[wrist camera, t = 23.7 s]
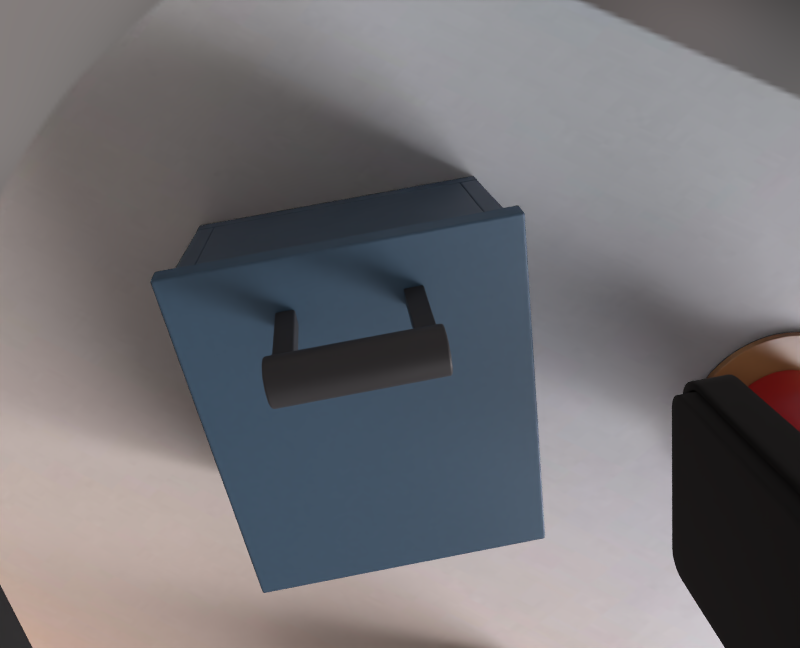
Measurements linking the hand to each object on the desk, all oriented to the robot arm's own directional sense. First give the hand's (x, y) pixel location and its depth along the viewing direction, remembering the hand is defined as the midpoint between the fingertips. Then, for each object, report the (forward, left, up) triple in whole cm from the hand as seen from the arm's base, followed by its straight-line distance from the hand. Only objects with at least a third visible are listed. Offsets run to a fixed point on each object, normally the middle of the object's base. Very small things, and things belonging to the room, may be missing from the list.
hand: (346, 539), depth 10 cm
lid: (+8, +3, -17) cm, 19 cm away
